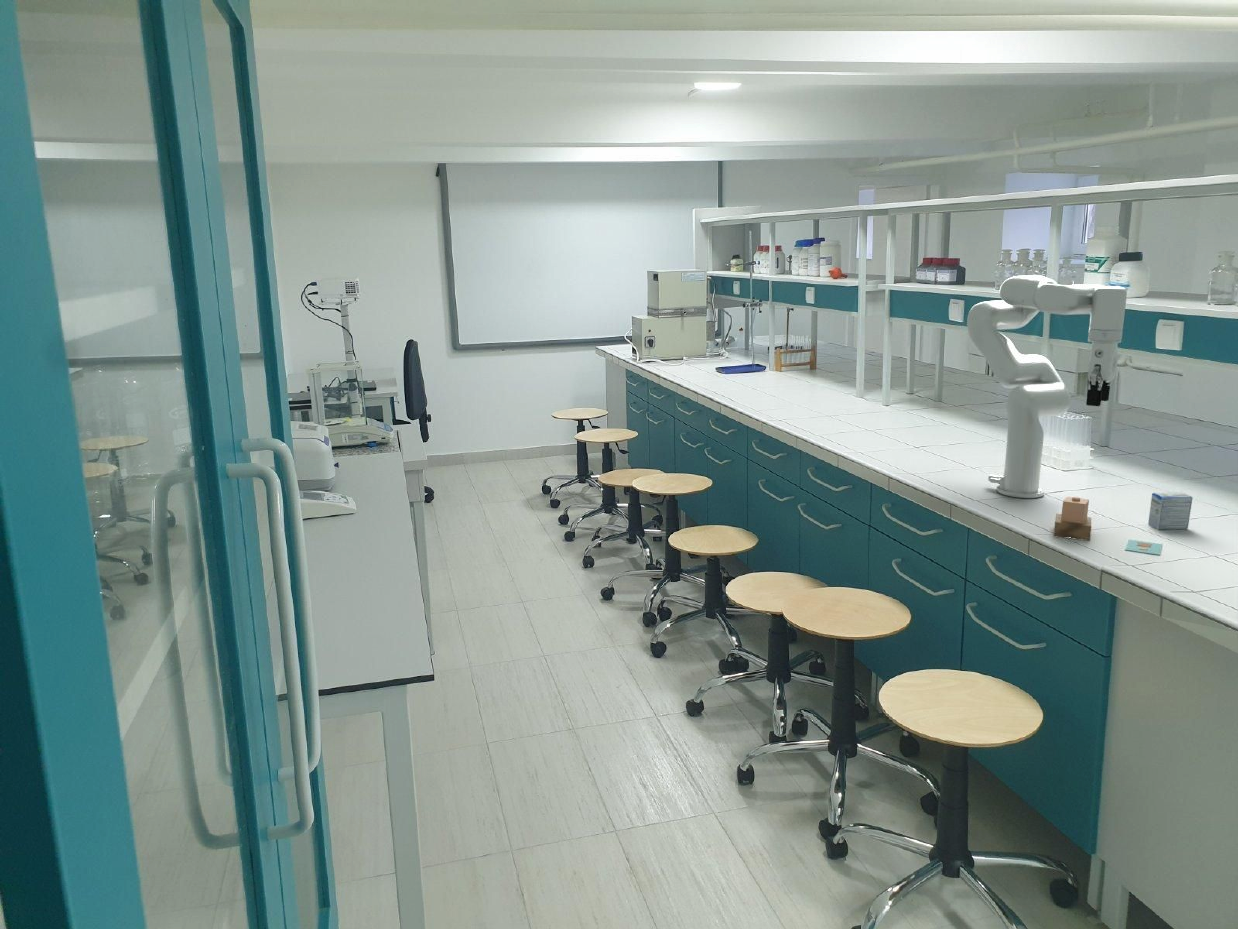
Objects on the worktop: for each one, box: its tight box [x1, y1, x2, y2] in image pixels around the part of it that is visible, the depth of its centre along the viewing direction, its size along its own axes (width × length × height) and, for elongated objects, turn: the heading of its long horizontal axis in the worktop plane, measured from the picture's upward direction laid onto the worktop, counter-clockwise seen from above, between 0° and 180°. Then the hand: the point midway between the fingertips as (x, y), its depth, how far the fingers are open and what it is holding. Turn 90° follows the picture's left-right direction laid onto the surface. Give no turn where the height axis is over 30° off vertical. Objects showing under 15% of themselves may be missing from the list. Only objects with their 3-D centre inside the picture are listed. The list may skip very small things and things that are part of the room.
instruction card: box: [1124, 539, 1163, 556], centre depth 217 cm, size 7×9×1 cm
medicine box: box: [1147, 491, 1193, 530], centre depth 231 cm, size 8×4×9 cm, turn 92°
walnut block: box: [1053, 513, 1092, 541], centre depth 227 cm, size 8×8×4 cm
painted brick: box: [1061, 496, 1090, 524], centre depth 226 cm, size 5×5×6 cm
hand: (1097, 403), depth 235 cm, fingers open, 9 cm apart
